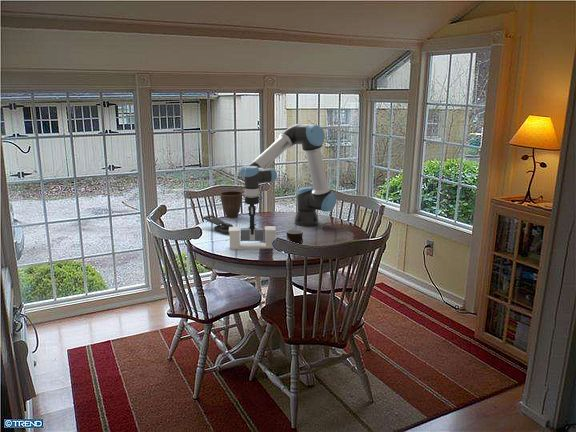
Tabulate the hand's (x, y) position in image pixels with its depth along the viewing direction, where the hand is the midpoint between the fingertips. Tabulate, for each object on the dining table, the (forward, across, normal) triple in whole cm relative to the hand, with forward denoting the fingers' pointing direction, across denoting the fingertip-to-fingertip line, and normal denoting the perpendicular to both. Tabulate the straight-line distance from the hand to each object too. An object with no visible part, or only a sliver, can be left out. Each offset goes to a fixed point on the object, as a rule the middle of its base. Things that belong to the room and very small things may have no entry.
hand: (252, 238), depth 263 cm
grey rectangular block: (+1, 0, 0) cm, 1 cm away
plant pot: (+4, -67, -14) cm, 69 cm away
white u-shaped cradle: (+4, 0, 0) cm, 4 cm away
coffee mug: (+4, +9, +22) cm, 24 cm away
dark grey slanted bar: (+5, -35, -20) cm, 40 cm away
